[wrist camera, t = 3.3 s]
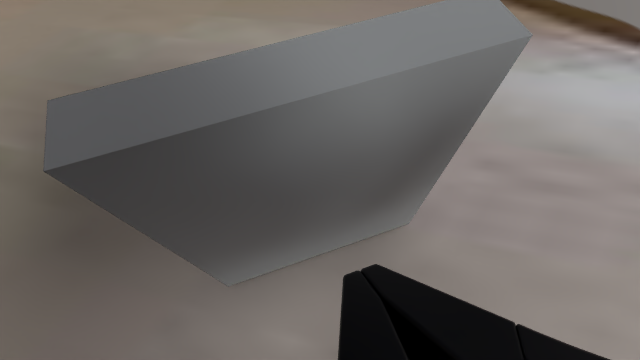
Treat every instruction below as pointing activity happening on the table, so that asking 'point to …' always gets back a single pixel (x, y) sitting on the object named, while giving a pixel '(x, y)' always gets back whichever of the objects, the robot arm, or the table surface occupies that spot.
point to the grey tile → (287, 136)
